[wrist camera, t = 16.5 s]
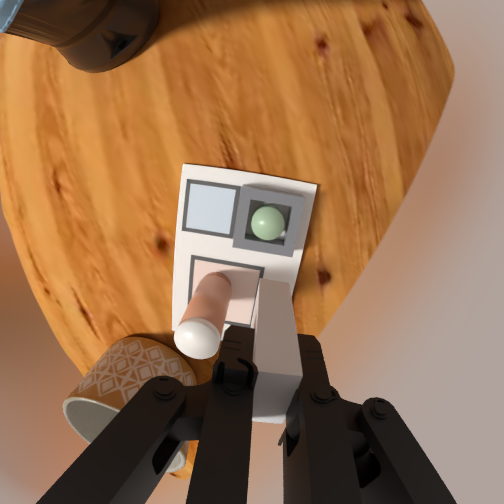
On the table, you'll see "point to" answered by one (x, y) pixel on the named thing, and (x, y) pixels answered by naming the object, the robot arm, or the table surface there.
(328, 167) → the table surface
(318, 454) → the robot arm
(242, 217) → the button housing
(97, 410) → the planter
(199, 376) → the table surface
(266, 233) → the button
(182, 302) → the sheet
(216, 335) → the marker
